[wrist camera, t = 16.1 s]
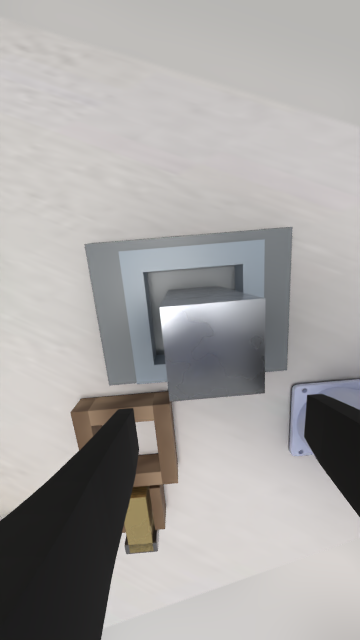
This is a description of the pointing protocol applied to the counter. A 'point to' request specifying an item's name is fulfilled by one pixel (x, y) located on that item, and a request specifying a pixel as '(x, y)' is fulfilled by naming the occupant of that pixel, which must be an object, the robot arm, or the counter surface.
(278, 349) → the grey rimmed base
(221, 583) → the counter surface
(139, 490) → the key
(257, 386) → the gray rectangular block
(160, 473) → the socket block
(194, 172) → the counter surface
